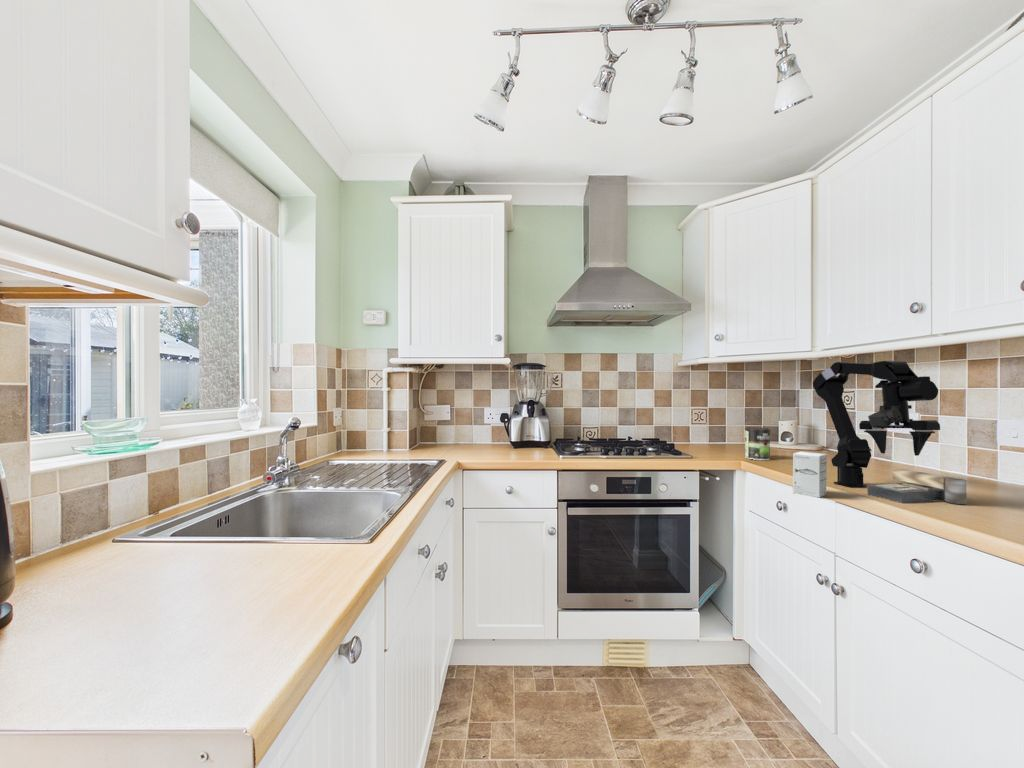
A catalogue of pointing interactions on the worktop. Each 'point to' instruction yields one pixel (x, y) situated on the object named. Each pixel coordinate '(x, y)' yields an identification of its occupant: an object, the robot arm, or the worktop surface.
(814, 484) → the supplement box
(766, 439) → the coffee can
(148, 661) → the worktop surface
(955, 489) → the notched beige block
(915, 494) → the slab
